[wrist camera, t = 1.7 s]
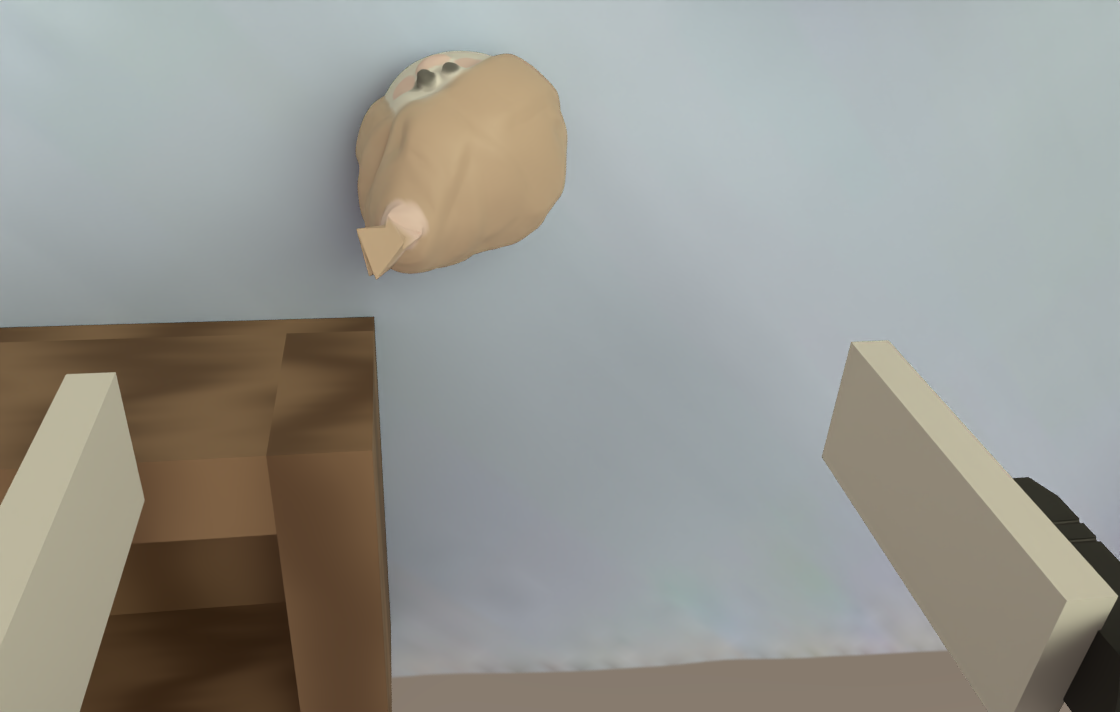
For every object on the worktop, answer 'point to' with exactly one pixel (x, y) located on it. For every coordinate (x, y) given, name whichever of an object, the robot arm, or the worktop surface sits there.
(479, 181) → the garlic bulb
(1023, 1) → the worktop surface
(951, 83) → the worktop surface
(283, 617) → the walnut well
